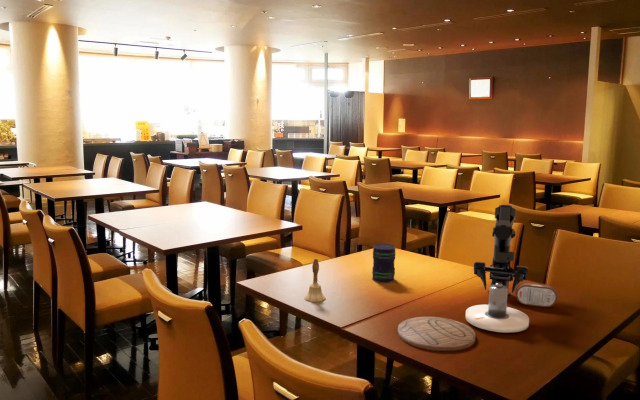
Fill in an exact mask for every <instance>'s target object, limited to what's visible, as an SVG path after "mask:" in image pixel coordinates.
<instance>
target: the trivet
mask: <svg viewBox="0 0 640 400" xmlns="http://www.w3.org/2000/svg"><path fill="white" fill-rule="evenodd" d="M397 335H398V337H399V339H400V340H402V341H403V342H404V343H406V344H408V345H409V346H412V347H416V348H418V349H421V350H425V349H426V350H425V351H430V350H431V351H433V352H439V351H452V352H458V351H457V350H460V351H463V350H466V348H467V349H469V348H470V347H472V346H473V345H474V344H475V342H476V332H475V331H474V329H472V327H470V326H469V325H468V324H465V323H463V322H460V321H457V320H454V319H450V318H446V317H441V316H440V317H438V316H418V317H416V316H415V317H411V318H407V319H405V320H402V321H401V322H400V323H399V324H398V327H397ZM462 349H463V350H462Z"/></svg>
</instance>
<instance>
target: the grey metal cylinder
mask: <svg viewBox="0 0 640 400" xmlns="http://www.w3.org/2000/svg"><path fill="white" fill-rule="evenodd" d="M488 291H489V292H488V305H489V306H488V315H490V316H492V317H496V318H504V317H506V310H507V307H508V296H509V295H508V292H509V287H506V286H504V285H503V284H502V283H495V284H494V285H491V284H490V285H489V290H488Z"/></svg>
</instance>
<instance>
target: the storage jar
mask: <svg viewBox="0 0 640 400" xmlns="http://www.w3.org/2000/svg"><path fill="white" fill-rule="evenodd" d="M372 246H373V247H372V259H373V263H372V264H373V265H372V269H371V270H372V271H371V274H372V281H373V282H375V283H376V282H377V283H380V284H381V283H382V284H384V283H386V284H389V283H392V282H394V281H395V273H396V272H395V271H396V267H395V261H396V246H395V245H393V244H388V243H377V244H374V245H372Z"/></svg>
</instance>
